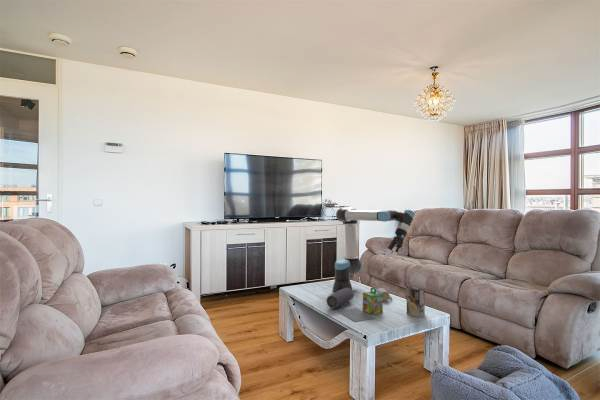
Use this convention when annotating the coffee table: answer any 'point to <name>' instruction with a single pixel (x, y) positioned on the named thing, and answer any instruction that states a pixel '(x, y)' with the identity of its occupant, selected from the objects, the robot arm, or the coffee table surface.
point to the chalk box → (372, 302)
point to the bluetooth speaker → (339, 298)
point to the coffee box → (415, 301)
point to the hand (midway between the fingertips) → (389, 257)
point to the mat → (355, 314)
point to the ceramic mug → (384, 294)
